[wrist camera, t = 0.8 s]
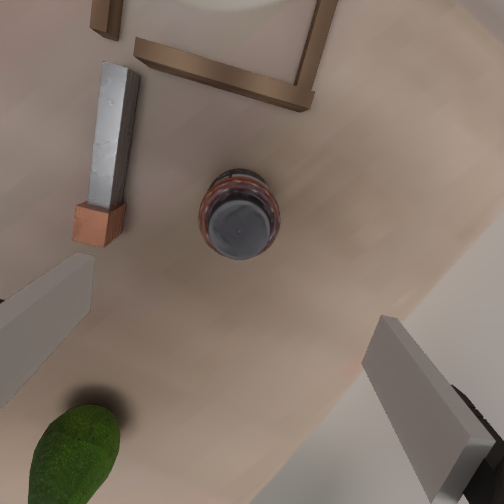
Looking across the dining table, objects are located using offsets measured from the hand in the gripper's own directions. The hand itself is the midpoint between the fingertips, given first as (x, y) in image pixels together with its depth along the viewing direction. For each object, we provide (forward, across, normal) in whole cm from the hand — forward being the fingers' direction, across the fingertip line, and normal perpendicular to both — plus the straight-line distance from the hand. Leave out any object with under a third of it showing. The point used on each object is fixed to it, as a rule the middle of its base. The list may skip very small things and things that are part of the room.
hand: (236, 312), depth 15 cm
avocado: (+18, -12, -27) cm, 35 cm away
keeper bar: (+18, -12, +3) cm, 22 cm away
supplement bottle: (+18, -1, +2) cm, 19 cm away
